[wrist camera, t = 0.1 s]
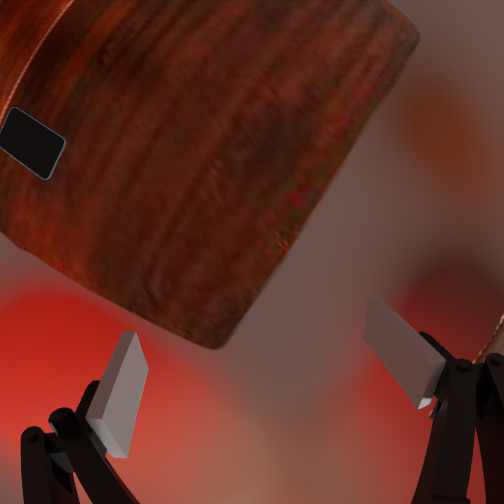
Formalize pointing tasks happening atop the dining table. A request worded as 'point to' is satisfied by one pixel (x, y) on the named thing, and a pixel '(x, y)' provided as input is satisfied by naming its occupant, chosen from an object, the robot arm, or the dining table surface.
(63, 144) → the smartphone
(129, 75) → the dining table surface
